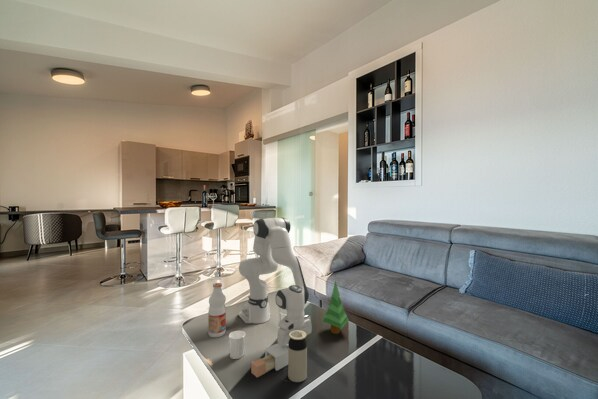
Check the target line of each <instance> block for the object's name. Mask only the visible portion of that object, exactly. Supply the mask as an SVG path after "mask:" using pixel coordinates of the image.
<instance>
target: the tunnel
mask: <svg viewBox="0 0 598 399" xmlns="http://www.w3.org/2000/svg"><path fill="white" fill-rule="evenodd" d="M264 354H265V355H264V357H266V356H268V355H270V354H271V355H272V356H273V357H275V368H274V370H275V371H279V370H281V369H283V368H285V367H286V366H287V367H288V348H286V346H284V347H283V346H281V345H279V344H278V342H277V343H275V344H272V345H270V346H268V347H266V348H264Z"/></svg>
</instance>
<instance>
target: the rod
mask: <svg viewBox="0 0 598 399" xmlns="http://www.w3.org/2000/svg"><path fill="white" fill-rule="evenodd" d="M285 347H286V348H288V345H286V346H285ZM261 359H262V360H263V361H264V362H266V373H268V372H270V371H271V370H273V369H275V357H273V356H272V355H271V354H270V355H268V356H266V357H265V356H264V357H263V358H261Z"/></svg>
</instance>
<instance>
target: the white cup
mask: <svg viewBox="0 0 598 399" xmlns="http://www.w3.org/2000/svg"><path fill="white" fill-rule="evenodd" d="M228 346H229V356H230V357H229V358H231V359H233V360H238V359H241V358H243V357H244V356H245V348H246V332H245V331H243V330H234V331H231V332H230V333H229V334H228Z"/></svg>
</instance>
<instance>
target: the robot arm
mask: <svg viewBox="0 0 598 399" xmlns="http://www.w3.org/2000/svg"><path fill="white" fill-rule="evenodd" d="M252 230H253V234H254V239H253V240H254V241H253V246H252V249H253V250H252V251H253V252H254V253H255V254H256V255H257V256H258V257H252V258H251V257H250V258H246V259H243V260H241V261H240V263H239V264H238V272H239V274H240V275H241V276H242V277H244V278H245V279H246V281H247V282H248V286H249V296H247V298H248V301H247V302H246V303H244V304H243V306H242V308H241V310H242V311H240V312H239V313H238V317H239V318H241V319H242V321H243V322H244V323H245V324H255V325H256V324H263V323H266V322H268V321H269V320H270V317H271V315H272V313H271V312H270V304H269V295H268V283H267V282H266V281H265V280H263V279H260V276H262V275H268V274H272V273H274V272H276V271H277V270H278V267H279V265H280V266H283V267H287V268H288V269H290V270H291V272H292V276H293V280H294V284H293V285H290V286H288V287H286V288H281V289H278V290H277V292H276V294H275V304H276V305H277V307H278V308H279V309H282V310H286V315H285V316H284V318H282V319H281V320H280V321H279V322H278V330H277V343H278V344H279V345H281V346H283V347H284V346H285V347H286V346H288V342H289V339H290V337H289V333H290V332H292V331H295V330H301V331H304V332H305V333H306V336H308V335H310V334H312V331H313V326H312V321H311V318H312V317H311V316H310V315H309V314H306V315H305V306H306V304H307V303H308V300H309V298H310V292H309V289H308V287H307V285H306V282H305V278H304V275H303V274H304V273H303V271H302V267H301V264H300V261H299V258H298V257H297V256H296V255H295V253H294V252H293V250H292V244H291V237H290V235H289V233H290V231H291V223H290V221H289V219H288V218H285V217H268V218H259V219H256V220H255V221H254V223H253V229H252Z"/></svg>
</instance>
